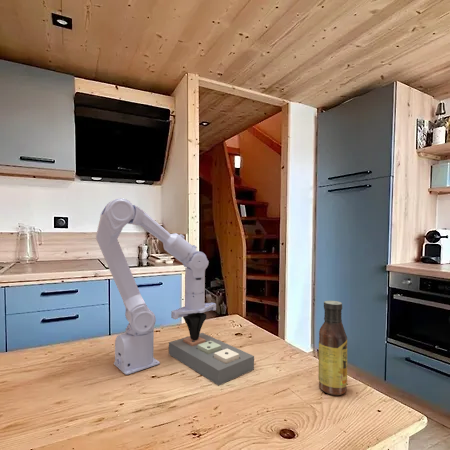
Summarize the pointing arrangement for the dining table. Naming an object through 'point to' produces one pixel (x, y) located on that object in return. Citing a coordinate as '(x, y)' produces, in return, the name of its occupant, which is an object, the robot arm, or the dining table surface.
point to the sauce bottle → (332, 351)
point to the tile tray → (211, 360)
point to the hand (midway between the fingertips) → (194, 338)
